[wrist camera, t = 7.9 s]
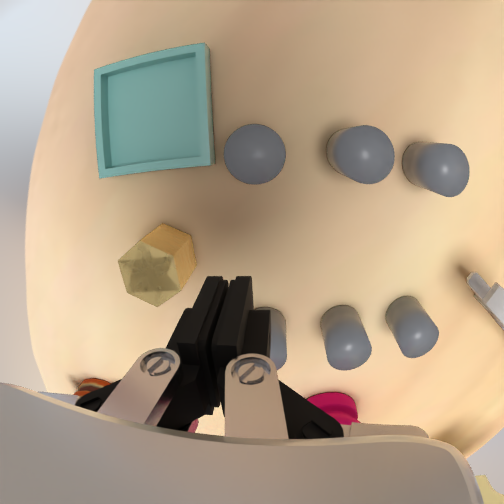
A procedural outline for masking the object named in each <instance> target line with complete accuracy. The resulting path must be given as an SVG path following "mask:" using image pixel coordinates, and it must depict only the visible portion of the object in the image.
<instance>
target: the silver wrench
mask: <svg viewBox="0 0 504 504" xmlns="http://www.w3.org/2000/svg"><path fill="white" fill-rule="evenodd" d="M467 284H468V285H469V287H470V288H471V289H472V290H473V291H474V292H475V295H474V297H475V298H476V299H477V300H478V301H479V303H480V304H481V305H482V306H483V307H484V308H485V309H486V310H487V311H488V312H489V313H490V315H491V316H492V317H493V318H494V319H495V320H496V322H497V323H498V324H499V325H500V326H501V328H502V329H503V330H504V289H503V288H502V287H501V286H500V285H499V284H497V283H496V282H495V284H494V285H493V286H492V288H490V287H489V286H488V284H487V283H486V282H485V281H484V280H483V279H482V278H481V277H480V275H479V274H478V273H476V272H471V273H470V274H469V276H468V277H467Z"/></svg>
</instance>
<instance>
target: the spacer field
mask: <svg viewBox="0 0 504 504" xmlns="http://www.w3.org/2000/svg"><path fill="white" fill-rule="evenodd" d="M326 154H327V158H328V161H329V163H330V165H331V166H332V167H333V169H335V170H336V171H337V172H339V173H340V174H342V175H345V176H347V177H349V178H351V179H353V180H355V181H357V182H359V183H363V184H374V183H377V182H379V181H381V180H383V179H384V178H385V177H387V175H388V174H389V173H390V171H391V169H392V167H393V164H394V157H395V155H394V148H393V145H392V143H391V141H390V139H389V138H388V136H387V135H386V134H385V133H384V132H382V131H381V130H380V129H378V128H376V127H373V126H368V125H363V126H357V127H351V128H346V129H342V130H339V131H337V132H336V133H334V134H333V135H332V136H331V138H330V139H329V141H328V144H327V148H326ZM285 158H286V152H285V146H284V143H283V141H282V139H281V138H280V136H279V135H278V134H277V133H276V132H275V131H274V130H272V129H271V128H269V127H266V126H264V125H259V124H250V125H246V126H243V127H241V128H239V129H237V130H236V131H234V132H233V133H232V134H231V136H230V137H229V138H228V140H227V142H226V144H225V148H224V160H225V164H226V166H227V168H228V170H229V172H230V173H231V174H232V175H233V176H234V177H235V178H236V179H238V180H240V181H242V182H244V183H247V184H262V183H266V182H268V181H270V180H272V179H273V178H275V177H276V176H277V175H278V174H279V172H280V171H281V169H282V168H283V165H284V162H285ZM402 166H403V171H404V174H405V176H406V177H407V179H408V180H409V181H410V182H411V183H413V184H414V185H417V186H419V187H422V188H425V189H427V190H430V191H433V192H435V193H438V194H440V195H443V196H446V197H454V196H457V195H458V194H460V193H461V192H462V191H463V190H464V188H465V187H466V185H467V183H468V179H469V164H468V160H467V158H466V156H465V154H464V153H463V151H462V150H461V149H460V148H459V147H457V146H455V145H452V144H443V143H429V142H416V143H413V144H411V145H410V146H409V147H408V148H407V149H406V151H405V152H404V155H403V159H402ZM255 310H270V311H271V350H270V359H271V360H272V361H273V362H274V364H275V366H276V369H277V370H278V369H280V368H281V367H282V366H283V365H284V364H285V362H286V359H287V347H286V321H285V318H284V316H283V315H282V314H281V313H280V312H279V311H278V310H276V309H273V308H269V307H261V308H257V309H255ZM386 322H387V324H388V326H389V328H390V330H391V331H392V333H393V335H394V337H395V339H396V341H397V343H398V345H399V347H400V349H401V351H402V353H403V355H405V356H406V357H409V358H416V357H420V356H422V355H424V354H426V353H427V352H428V351H430V350H431V349H432V348H433V346H434V345H435V344H436V342H437V340H438V336H439V331H438V328H437V326H436V325H435V324H434V322H433V321H432V320H431V318H430V317H429V315H428V314H427V313H426V311H425V310H424V309H423V307H422V306H421V305H420V303H419V302H418V301H417V300H416V299H415V298H414V297H411V296H404V297H401V298H398V299H397V300H395V301H394V302H393V303H392V304H391V305H390V306H389V308H388V310H387V312H386ZM321 329H322V334H323V339H324V344H325V349H326V354H327V359H328V362H329V364H330V365H331V366H332V367H333V368H335V369H338V370H351V369H355V368H357V367H359V366H361V365H362V364H364V363H365V362H366V361H367V360H368V358H369V357H370V355H371V351H372V347H371V344H370V341H369V339H368V336H367V334H366V331H365V329H364V326H363V324H362V322H361V319H360V317H359V314H358V312H357V311H356V310H355V309H354V308H352V307H350V306H347V305H339V306H336V307H333V308H331V309H330V310H328V311H327V312H326V313H325V314H324V316H323V317H322V320H321Z"/></svg>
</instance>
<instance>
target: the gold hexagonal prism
mask: <svg viewBox="0 0 504 504" xmlns="http://www.w3.org/2000/svg"><path fill="white" fill-rule="evenodd" d="M118 263H119V267H120V270H121V274H122V277H123V281H124V284H125V287H126V291H127V293H129V294H131V295H133V296H135V297H137V298H139V299H141V300H143V301H145V302H147V303H150V304H152V305H154V306H156V307H158V306H160V305H161V304H162V303H164V302H165V301H167V300H168V299H170V298H171V297H173V296H174V295H176V294H177V293H178V292H180V291H181V290H182V288H183V287H184V285H185V284H186V282H187V280H188V279H189V277H190V275H191V274H192V272H193V271H194V269H195V267H196V266H197V264H196V259H195V254H194V249H193V243H192V238H191V235H189V234H186V233H184V232H182V231H179V230H177V229H175V228H173V227H170V226H168V225H166V224H163V223H162V224H161V225H160V226H158V227H157V228H156V229H154V230H153V231H152V232H151V233H149V234H148V235H147V236H145V237H144V238H143V239H142V240H140V241H139V242H138V243H137V244H136V245H135V246H134V247H132V248H131V249H130V250H129V251H128V252H127V253H126V254H125V255H124V256H122V257H121V258H120V259H119V260H118Z"/></svg>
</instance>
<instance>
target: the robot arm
mask: <svg viewBox="0 0 504 504" xmlns="http://www.w3.org/2000/svg"><path fill="white" fill-rule="evenodd" d="M270 350H271V311H270V310H254V308H253V291H252V278H251V276H237V277H236V280H231V282H230V285H229V287H228V281H227V280H223V277H222V276H207V278H206V280H205V282H204V284H203V286H202V289H201V291H200V293H199V295H198V297H197V299H196V301H195V303H194V306H193V308H186V309H185V310H184V312H183V314H182V316H181V318H180V320H179V322H178V324H177V326H176V328H175V330H174V332H173V334H172V336H171V338H170V340H169V342H168V345H167V347H166V348H157V349H152V350H149V351H147V352H145V353H144V354H142V355H141V356H140V357H139V358H138V359H137V361H136V362H135V363H134V364H133V366H132V367H131V368H130V370H129V371H128V372H127V373H126V375H125V376H124V377H123V379H121V380H119V381H116V382H114V383H111V384H109V385H107V386H104V387H102V388H99V389H97V390H94V391H92V392H89V393H87V394H85V395H83V396H82V397H81V398H80V397H79V396H78V395H68V394H57V393H48V392H36V391H33V390H30V389H27V388H24V387H20V386H16V385H13V384H7V383H0V504H484V502H483V498H482V495H481V492H480V488H479V486H478V483H477V481H476V478H475V476H474V474H473V471H472V469H471V467H470V465H469V464H468V462H467V460H466V458H465V457H464V456H463V454H462V453H461V452H460V451H459V450H458V449H457V448H456V447H454V446H452V445H450V444H449V443H446V442H443V441H440V440H436V439H431V438H429V436H428V435H427V433H426V432H425V431H424V430H423V429H421V428H419V427H416V426H411V425H381V424H366V423H355V422H352V424H351V425H342V424H340V423H339V422H338V421H337V420H336V419H335V418H333V417H332V416H330V415H329V414H327V413H326V412H324V411H323V410H321V409H320V408H318V407H317V406H315V405H314V404H312V403H311V402H309V401H308V400H306V399H305V398H303V397H302V396H301V395H299V394H298V393H296V392H295V391H294V390H292V389H291V388H289V387H288V386H287V385H285V384H284V383H282V382H281V381H280V380H278V375H277V369H276V366H275V364H274V362H273V361H272V360H271V359H270ZM220 402H221V405H222V410H223V414H224V417H225V436H217V435H208V434H199V433H195V431H196V429H197V426H198V423H199V421H198V418H200V417H202V416H203V415H213V410H214V407H219V406H220Z"/></svg>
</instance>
